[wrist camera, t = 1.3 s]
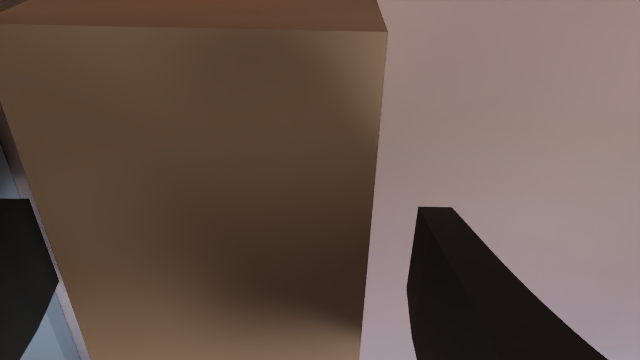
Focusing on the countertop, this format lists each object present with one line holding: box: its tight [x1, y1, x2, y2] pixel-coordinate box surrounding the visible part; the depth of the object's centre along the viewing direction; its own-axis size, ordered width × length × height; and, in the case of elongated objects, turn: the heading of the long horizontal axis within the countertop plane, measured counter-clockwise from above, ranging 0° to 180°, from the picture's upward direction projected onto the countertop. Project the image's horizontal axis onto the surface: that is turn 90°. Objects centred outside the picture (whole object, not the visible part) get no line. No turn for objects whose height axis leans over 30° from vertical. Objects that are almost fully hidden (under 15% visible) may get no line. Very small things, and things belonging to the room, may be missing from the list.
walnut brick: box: [0, 0, 388, 360], centre depth 10 cm, size 9×5×4 cm, turn 179°
